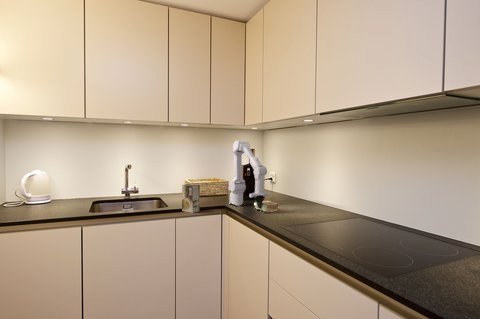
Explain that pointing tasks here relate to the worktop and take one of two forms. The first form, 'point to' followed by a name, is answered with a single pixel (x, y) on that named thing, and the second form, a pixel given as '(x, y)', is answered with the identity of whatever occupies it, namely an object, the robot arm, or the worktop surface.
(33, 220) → the worktop surface
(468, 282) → the worktop surface
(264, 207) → the tray
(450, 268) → the worktop surface
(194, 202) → the coffee box
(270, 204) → the housing
